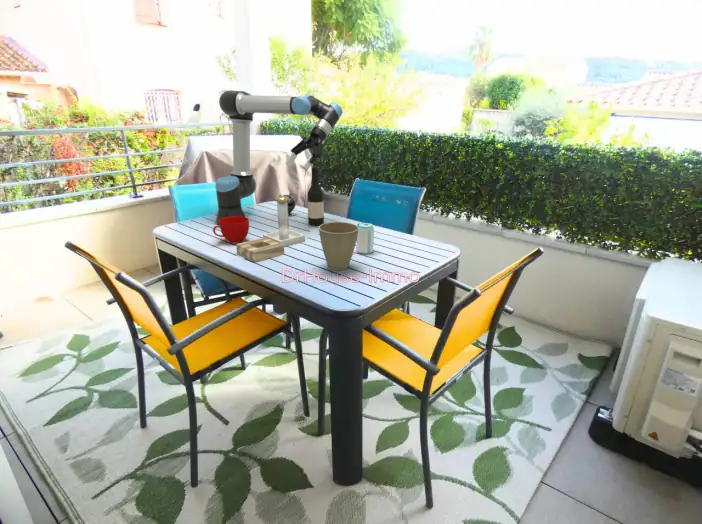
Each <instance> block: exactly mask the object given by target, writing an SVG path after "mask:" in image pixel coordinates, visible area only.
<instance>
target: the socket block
mask: <svg viewBox="0 0 702 524" xmlns="http://www.w3.org/2000/svg"><path fill="white" fill-rule="evenodd" d="M235 244H236V254H238V255H240V256H241V257H244V258H246V259H247V260H249V261H252V262H254V263H257V262H261V261H264V260H265V261H266V260H268V259H271V258H275V257H278V255H279V256H282V255H285V247H284V245H283V244H280V243H278V242H275V241H273V240H270V239H268V238H265V237H264V238H263V237H261V238H257V239H252V240H248V241H243V242H240V243H235Z"/></svg>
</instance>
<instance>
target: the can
mask: <svg viewBox="0 0 702 524" xmlns="http://www.w3.org/2000/svg"><path fill="white" fill-rule="evenodd" d="M358 224H359V226H358V227H359V230H358V235H357V241H356V251H357V252H358V253H359V254H362V255H370V254H371V253H373V252H374V238H375V237H374V235H375V228H374V227H373V224H372V223H370V222H363V223H362V222H361V223H358Z"/></svg>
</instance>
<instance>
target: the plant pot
mask: <svg viewBox="0 0 702 524" xmlns="http://www.w3.org/2000/svg"><path fill="white" fill-rule="evenodd" d="M358 230H359V227H358V226H357V224H354V223H351V222H344V221H331V222H326V223H325V222H324V224H322V225H320V226H318V233H319V239H320V243H321V248H322V251H323V254H324V258H325V261H326V264H327V266H328V268H329V269H330V270H334V271H343V270H347V269H348V267H349V265H350V262H351V260H352V257H353V254H354V251H355V248H356V245H357V241H356V240H357V235H358Z"/></svg>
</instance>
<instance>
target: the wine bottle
mask: <svg viewBox="0 0 702 524" xmlns="http://www.w3.org/2000/svg"><path fill="white" fill-rule="evenodd" d="M311 166H312V168H311V186H310V187H309V189H308V191H307V222H308V223H307V225H308V224H309V225H308V226H310V225H311V227H319V226H320V225H322V224H325V205H324V204H325V203H324V202H325V198H324V196H325V195H324V190H323V189H322V188H321V186H320V185H319V183H320V182H319V181H320V178H319V167H318V166H317V165H311Z"/></svg>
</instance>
